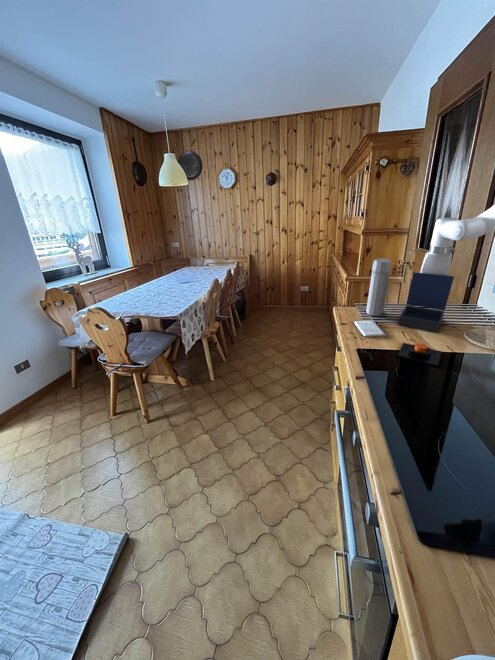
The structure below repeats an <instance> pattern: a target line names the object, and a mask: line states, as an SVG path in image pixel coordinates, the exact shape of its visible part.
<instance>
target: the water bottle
mask: <svg viewBox="0 0 495 660" xmlns="http://www.w3.org/2000/svg"><path fill="white" fill-rule="evenodd" d="M391 266H392V260H391V259H390V258H375V259H374V260H373V263H372V268H371V275H370V276H371V277H370V283H369V289H368V297H367V302H366V303H367V304H366V310H365V311H366V314H367V315H369V316H371V317H372V316H373V317H380V316H382V315H383V313H384V309H385V308H387V305H388V301H389V289H390V278H391V275H392V274H393V272H392V271H391V269H392V267H391Z"/></svg>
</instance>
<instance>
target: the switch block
mask: <svg viewBox="0 0 495 660" xmlns="http://www.w3.org/2000/svg"><path fill="white" fill-rule="evenodd" d="M415 345H416V344H410V343H407V342H403V343H402V345H401V347H400V349H399V351H398V353H397V357H398V358H402V359H405V360H409V361H413V362H416V363H421V364H425V365H429V366H432V367H437V368H438V367H439V364H440V360H441V356H442V351H441V350H437V349H432V348H430V347H428V348H427V351H426V352H425V353H421V352H417V351H415Z"/></svg>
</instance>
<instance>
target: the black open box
mask: <svg viewBox="0 0 495 660" xmlns="http://www.w3.org/2000/svg"><path fill="white" fill-rule="evenodd" d="M444 314H445V310H439V309H432V308H426V307H420V306H414V305H407V304H406V305H405V306H404V308H403V309H402V311H401V313H400V315H399V317H398V321H397V322H398V323H397V325H398V326H401V327H406V328H411V329H416V330H420V331H425V332H430V333H435V334H439V331H440V328H441V324H442V321H443V318H444Z"/></svg>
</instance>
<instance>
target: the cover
mask: <svg viewBox="0 0 495 660" xmlns="http://www.w3.org/2000/svg"><path fill="white" fill-rule="evenodd" d="M454 279H455V276H454V275H448V276H445V275H436V274H426V273H420V272H416V271H415V272H414V271H413V272H412V276H411V281H410V282H411V283H410V287H409V290H408V295H407V300H406V305H409V306H415V307H421V308H427V309H433V310H439V311H446V307H447V305H448V304H447V303H448V301H449V297H450V293H451V289H452V287H453V282H454Z"/></svg>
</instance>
